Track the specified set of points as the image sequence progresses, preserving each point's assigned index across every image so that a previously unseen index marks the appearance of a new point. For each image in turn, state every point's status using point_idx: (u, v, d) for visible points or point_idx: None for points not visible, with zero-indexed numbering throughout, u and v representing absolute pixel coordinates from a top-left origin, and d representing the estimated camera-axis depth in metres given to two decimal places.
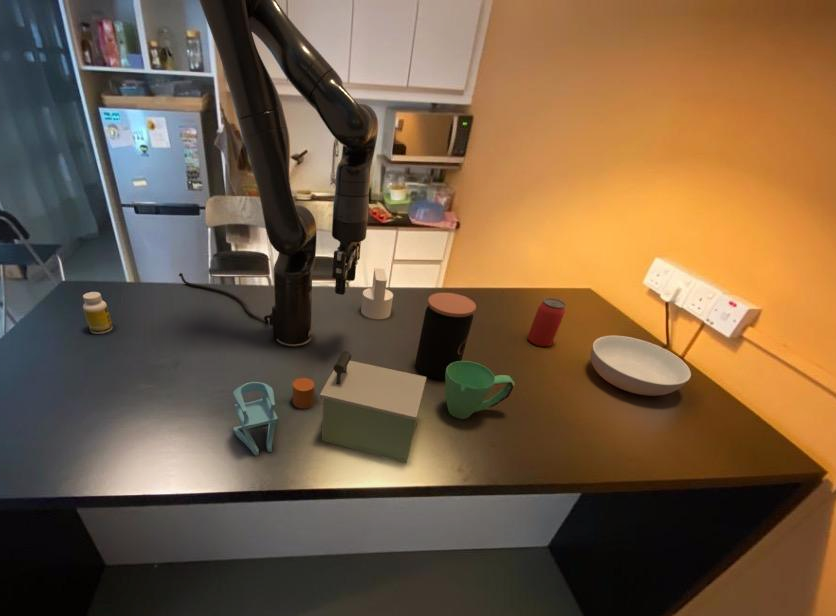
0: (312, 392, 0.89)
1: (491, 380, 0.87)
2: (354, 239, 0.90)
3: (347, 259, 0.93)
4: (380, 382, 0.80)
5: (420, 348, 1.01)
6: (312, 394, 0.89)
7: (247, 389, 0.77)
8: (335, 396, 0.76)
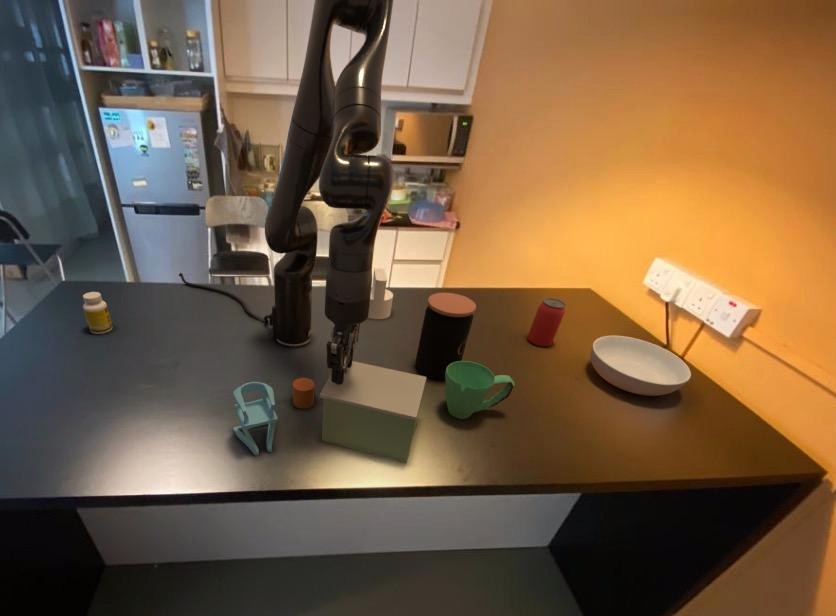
0: (312, 392, 0.89)
1: (491, 380, 0.87)
2: (353, 321, 0.70)
3: (345, 345, 0.73)
4: (380, 382, 0.80)
5: (420, 348, 1.01)
6: (312, 394, 0.89)
7: (247, 389, 0.77)
8: (335, 396, 0.76)
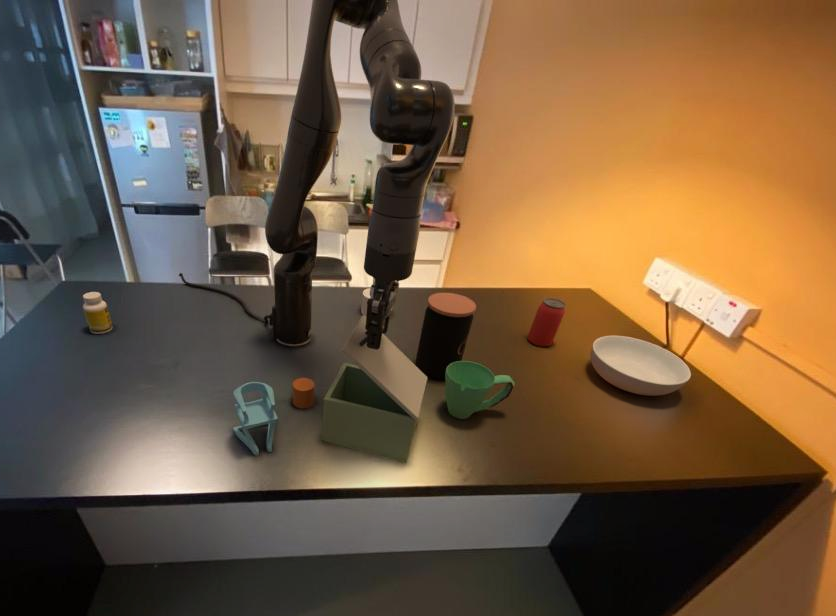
0: (312, 392, 0.89)
1: (491, 380, 0.87)
2: (397, 277, 0.63)
3: (385, 304, 0.67)
4: (393, 363, 0.77)
5: (420, 348, 1.01)
6: (312, 394, 0.89)
7: (247, 389, 0.77)
8: (357, 357, 0.70)
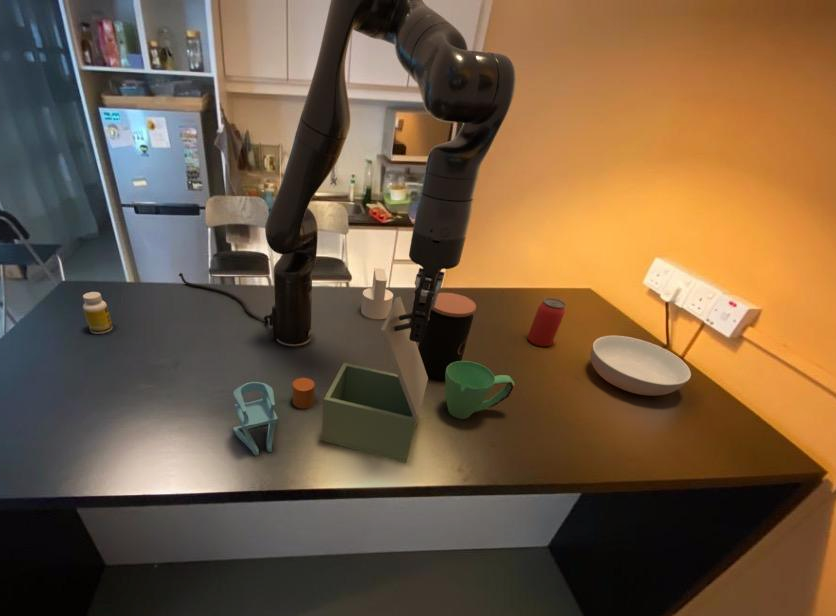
0: (312, 392, 0.89)
1: (491, 380, 0.87)
2: (446, 265, 0.60)
3: None
4: (411, 356, 0.75)
5: (420, 348, 1.01)
6: (312, 394, 0.89)
7: (247, 389, 0.77)
8: (391, 343, 0.67)
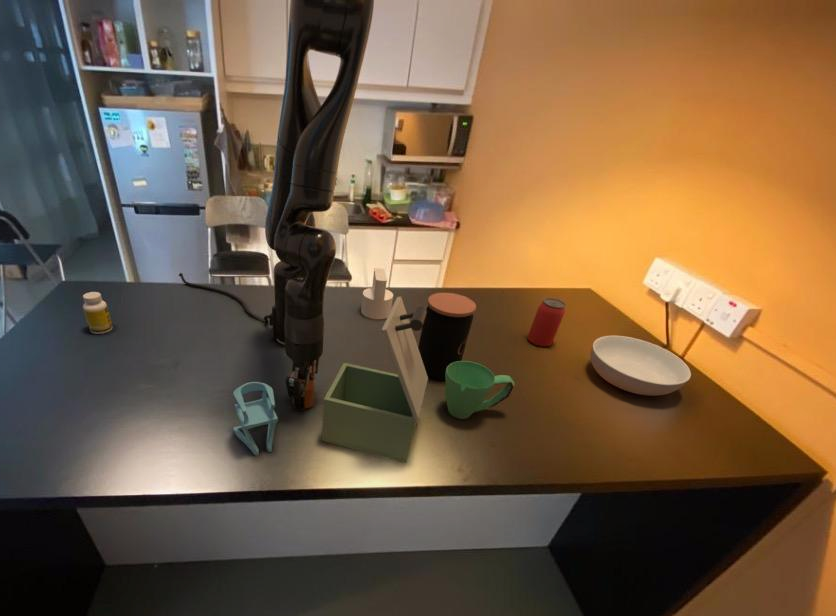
0: (312, 392, 0.89)
1: (491, 380, 0.87)
2: (308, 359, 0.81)
3: (303, 377, 0.85)
4: (412, 356, 0.75)
5: (420, 348, 1.01)
6: (312, 394, 0.89)
7: (247, 389, 0.77)
8: (392, 342, 0.66)
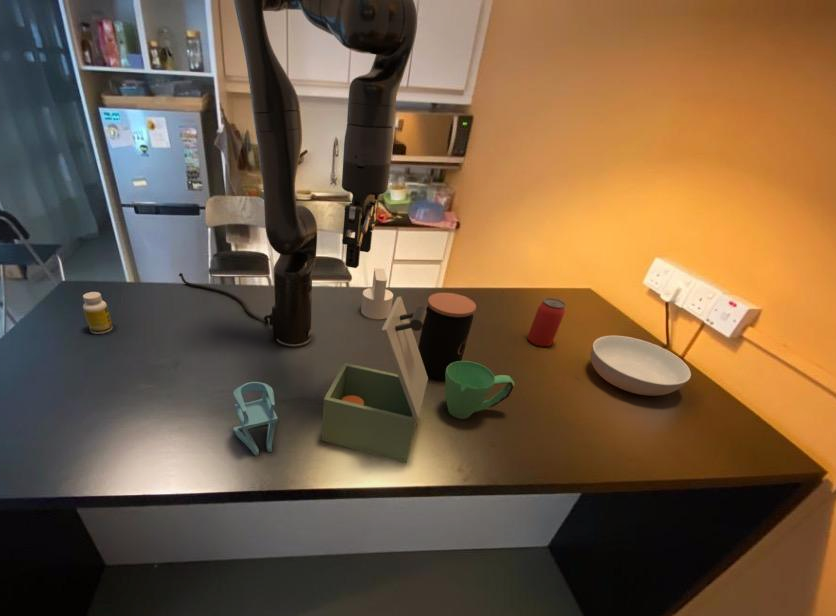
0: None
1: (491, 380, 0.87)
2: (372, 190, 0.66)
3: (362, 219, 0.69)
4: (412, 356, 0.75)
5: (420, 348, 1.01)
6: None
7: (247, 389, 0.77)
8: (392, 342, 0.66)
